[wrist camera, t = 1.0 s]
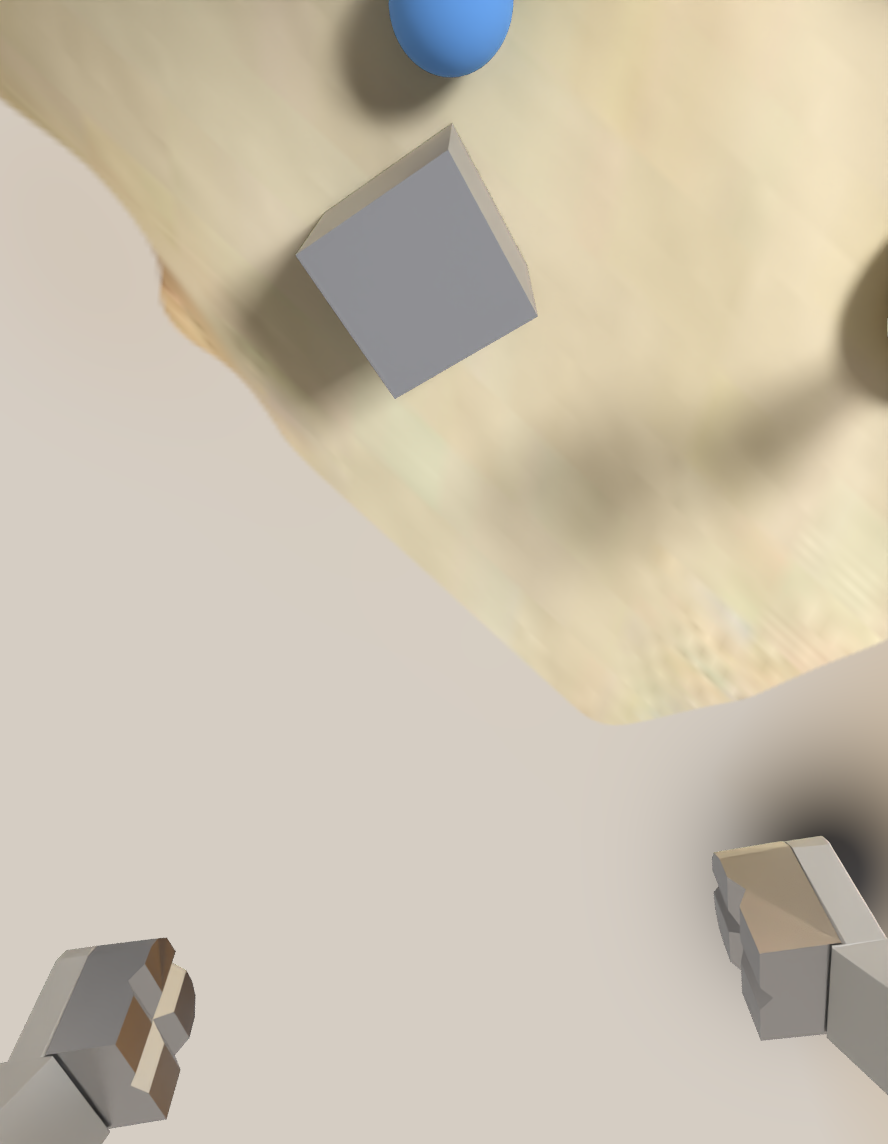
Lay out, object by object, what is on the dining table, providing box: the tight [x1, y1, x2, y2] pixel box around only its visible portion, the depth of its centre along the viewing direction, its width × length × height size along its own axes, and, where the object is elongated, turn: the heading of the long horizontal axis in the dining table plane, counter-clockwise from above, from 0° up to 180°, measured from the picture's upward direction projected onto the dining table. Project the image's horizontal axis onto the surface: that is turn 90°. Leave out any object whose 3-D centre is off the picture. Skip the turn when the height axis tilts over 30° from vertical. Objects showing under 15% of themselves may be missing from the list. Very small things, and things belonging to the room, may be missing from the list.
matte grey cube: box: [296, 123, 538, 399], centre depth 35 cm, size 7×7×8 cm
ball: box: [389, 0, 513, 77], centre depth 31 cm, size 5×5×5 cm
